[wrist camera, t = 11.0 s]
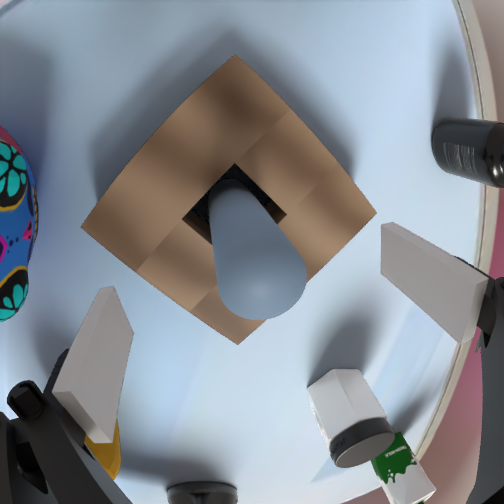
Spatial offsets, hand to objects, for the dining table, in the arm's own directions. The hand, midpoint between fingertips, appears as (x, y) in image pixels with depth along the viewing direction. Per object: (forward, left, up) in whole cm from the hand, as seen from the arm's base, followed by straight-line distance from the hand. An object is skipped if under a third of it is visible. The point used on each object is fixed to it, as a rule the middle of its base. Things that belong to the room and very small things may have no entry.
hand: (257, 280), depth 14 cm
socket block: (0, 0, -15) cm, 15 cm away
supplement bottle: (+23, -13, -15) cm, 30 cm away
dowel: (0, 0, -15) cm, 15 cm away
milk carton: (-15, -61, -15) cm, 64 cm away
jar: (-9, -29, -15) cm, 33 cm away
